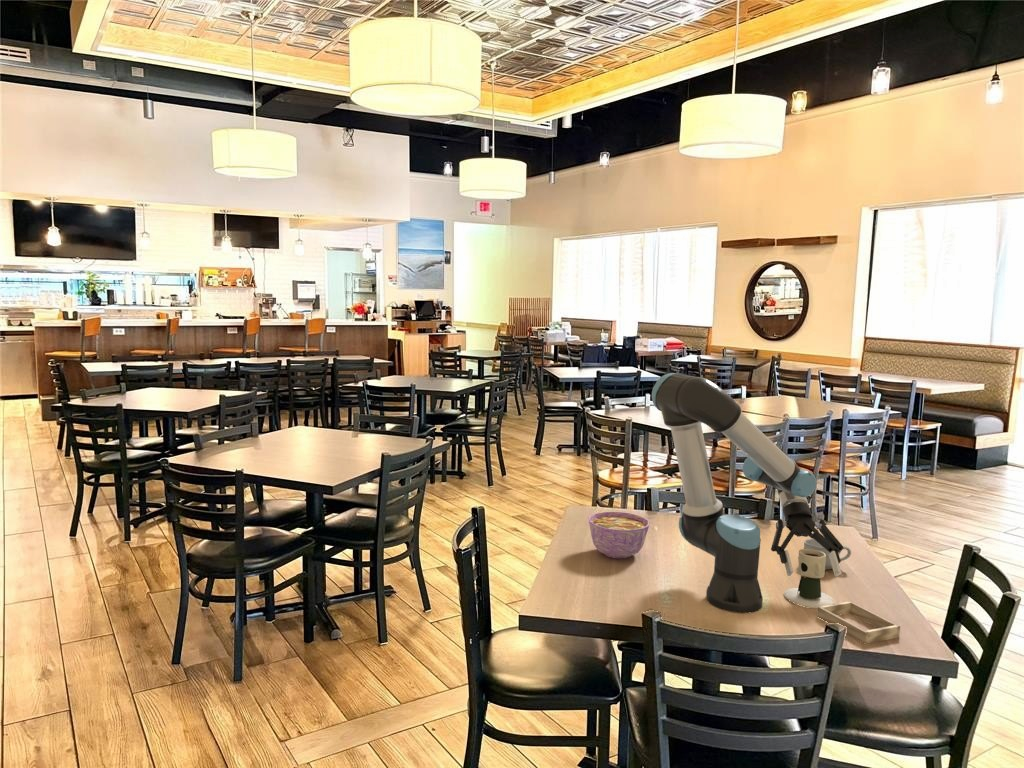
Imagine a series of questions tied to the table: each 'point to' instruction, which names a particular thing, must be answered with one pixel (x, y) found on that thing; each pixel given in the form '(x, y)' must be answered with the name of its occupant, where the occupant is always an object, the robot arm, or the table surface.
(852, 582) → the table surface
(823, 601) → the white saucer
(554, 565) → the table surface
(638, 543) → the bowl of food
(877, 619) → the wooden tray
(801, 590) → the character mug
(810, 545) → the teacup
